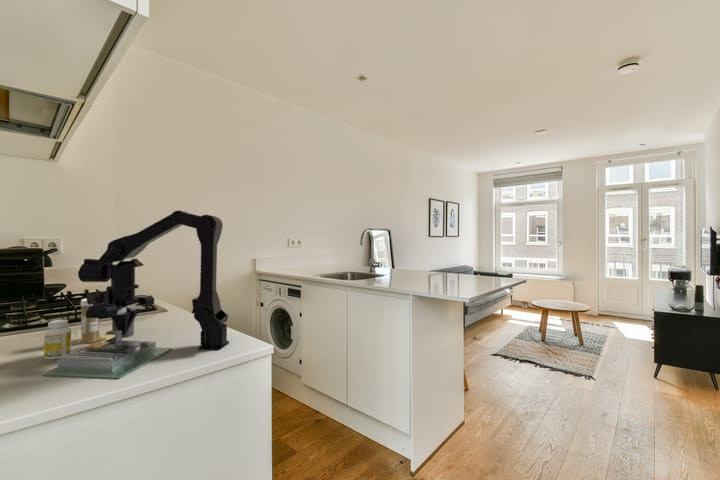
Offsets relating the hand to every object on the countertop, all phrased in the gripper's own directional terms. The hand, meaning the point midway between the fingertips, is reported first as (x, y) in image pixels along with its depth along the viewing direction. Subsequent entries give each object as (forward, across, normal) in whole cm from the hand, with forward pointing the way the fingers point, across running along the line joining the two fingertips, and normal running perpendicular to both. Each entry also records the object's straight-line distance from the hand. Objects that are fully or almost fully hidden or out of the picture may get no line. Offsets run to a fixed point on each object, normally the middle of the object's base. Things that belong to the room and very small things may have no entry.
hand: (122, 334), depth 95 cm
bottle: (+4, -12, -10) cm, 16 cm away
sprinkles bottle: (+4, -5, -15) cm, 16 cm away
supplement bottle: (+4, +7, -13) cm, 15 cm away
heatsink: (+4, +9, +5) cm, 11 cm away
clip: (+1, +5, 0) cm, 5 cm away
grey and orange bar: (+1, +9, +6) cm, 11 cm away
